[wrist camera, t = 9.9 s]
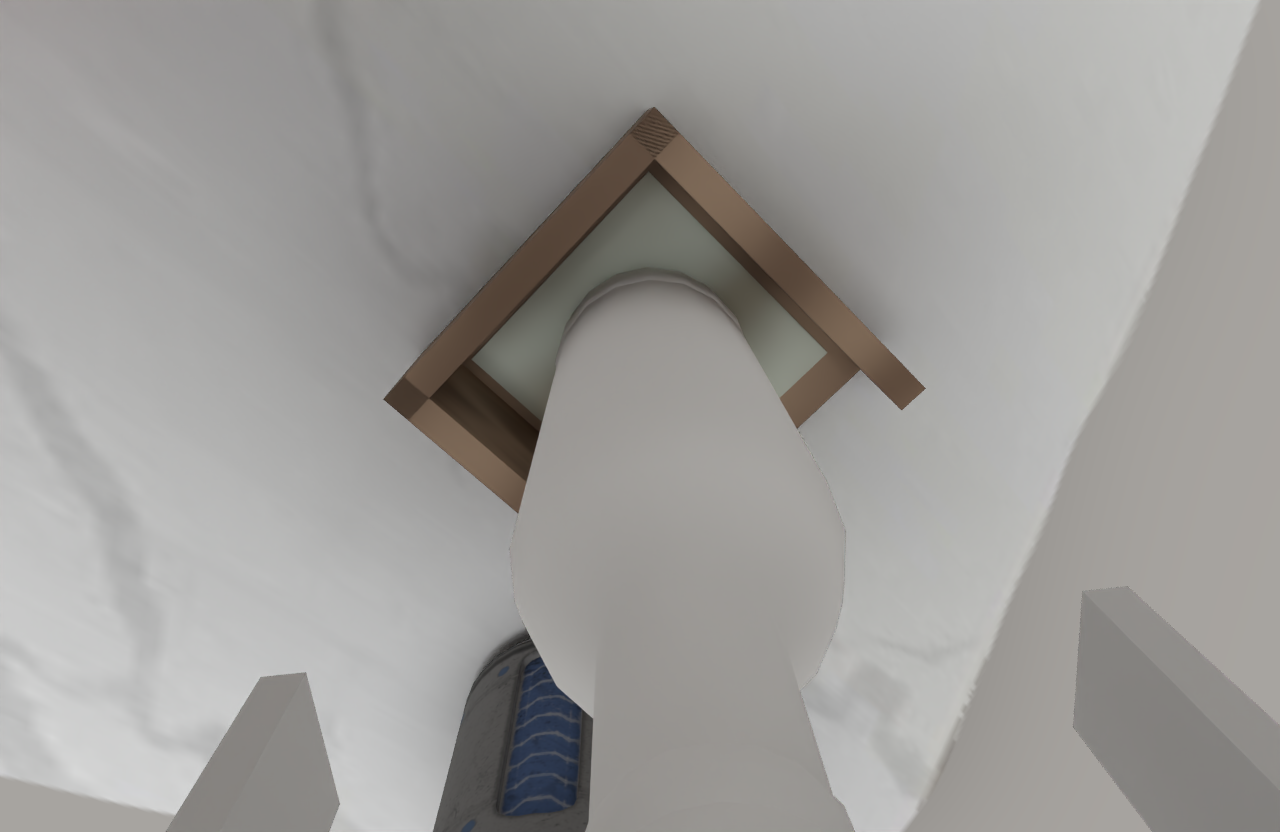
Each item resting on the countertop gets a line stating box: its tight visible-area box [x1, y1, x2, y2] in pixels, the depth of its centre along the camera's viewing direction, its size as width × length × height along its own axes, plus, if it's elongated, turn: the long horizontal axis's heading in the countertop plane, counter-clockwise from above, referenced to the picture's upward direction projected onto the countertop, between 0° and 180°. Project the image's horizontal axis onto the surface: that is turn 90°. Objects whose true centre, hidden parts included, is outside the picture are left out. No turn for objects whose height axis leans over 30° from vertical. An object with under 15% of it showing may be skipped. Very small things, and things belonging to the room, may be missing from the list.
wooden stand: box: [384, 107, 926, 513], centre depth 37 cm, size 14×14×7 cm
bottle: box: [509, 267, 855, 832], centre depth 25 cm, size 8×8×30 cm
